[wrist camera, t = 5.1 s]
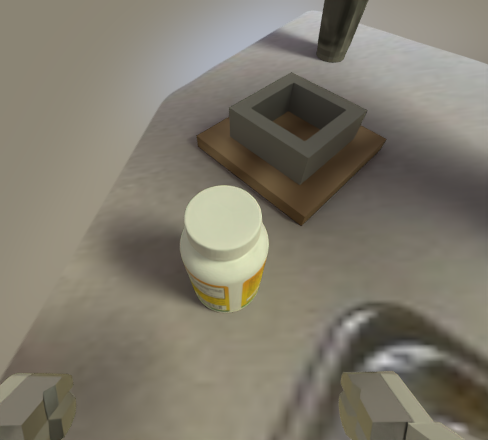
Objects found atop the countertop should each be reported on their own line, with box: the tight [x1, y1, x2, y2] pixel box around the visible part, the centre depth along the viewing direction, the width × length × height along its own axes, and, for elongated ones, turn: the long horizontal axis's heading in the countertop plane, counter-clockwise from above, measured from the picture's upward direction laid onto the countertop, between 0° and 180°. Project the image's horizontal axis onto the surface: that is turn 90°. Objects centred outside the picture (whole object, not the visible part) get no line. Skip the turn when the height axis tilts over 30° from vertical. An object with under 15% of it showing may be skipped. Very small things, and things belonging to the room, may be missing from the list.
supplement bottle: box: [180, 185, 269, 313], centre depth 17 cm, size 5×5×10 cm
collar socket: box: [197, 72, 386, 226], centre depth 28 cm, size 15×15×5 cm
